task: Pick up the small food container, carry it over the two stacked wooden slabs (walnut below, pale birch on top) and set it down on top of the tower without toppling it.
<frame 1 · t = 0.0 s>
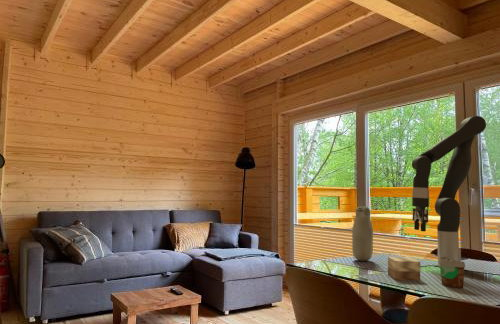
hand: (419, 230, 194), 17 cm above the table, tool pointing down, fingers open, 8 cm apart
food container: (448, 285, 153), on the table
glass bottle: (362, 261, 206), on the table
walnut slab: (403, 278, 166), on the table, touching birch slab
birch slab: (403, 269, 166), point 4 cm above the table, touching walnut slab
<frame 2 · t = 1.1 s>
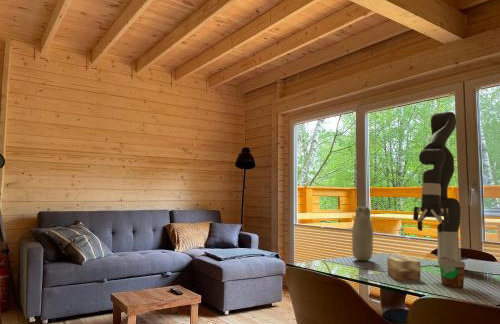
hand: (430, 231, 173), 19 cm above the table, tool pointing down, fingers open, 8 cm apart
walnut slab: (403, 278, 166), on the table
birch slab: (403, 268, 166), point 4 cm above the table
everything else where it was.
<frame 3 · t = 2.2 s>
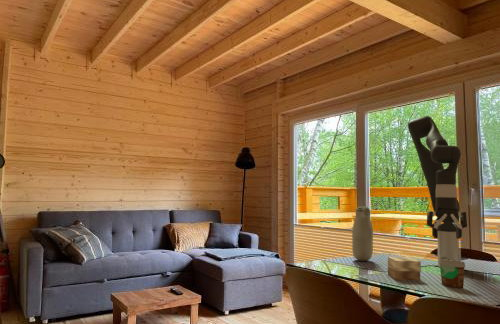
hand: (446, 238, 155), 18 cm above the table, tool pointing down, fingers open, 8 cm apart
walnut slab: (403, 278, 166), on the table, touching birch slab
birch slab: (403, 268, 166), point 4 cm above the table, touching walnut slab
everything else where it was.
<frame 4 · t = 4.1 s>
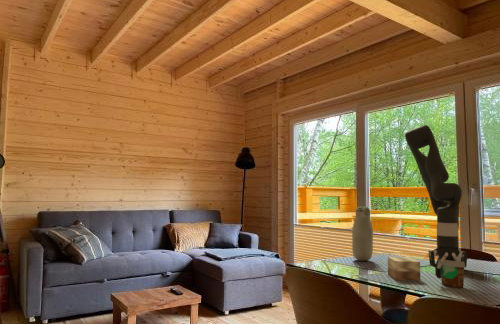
hand: (448, 278, 153), 3 cm above the table, tool pointing down, fingers open, 6 cm apart
food container: (448, 285, 153), on the table, touching gripper
everything else where it was.
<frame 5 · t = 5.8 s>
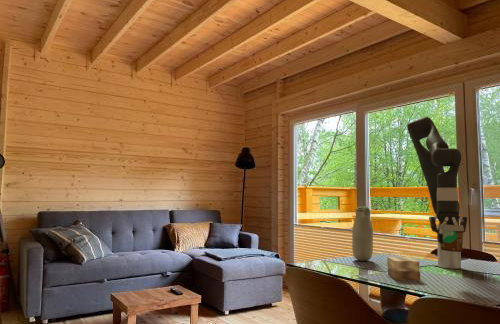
hand: (448, 243, 154), 16 cm above the table, tool pointing down, fingers closed on food container, 5 cm apart
food container: (447, 250, 154), point 13 cm above the table, touching gripper
everything else where it was.
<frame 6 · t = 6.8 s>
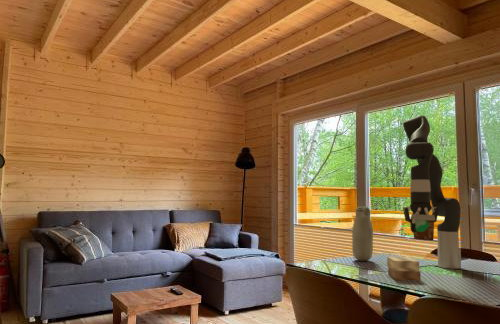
hand: (421, 232, 162), 19 cm above the table, tool pointing down, fingers closed on food container, 5 cm apart
food container: (419, 239, 162), point 16 cm above the table, touching gripper
walnut slab: (403, 278, 166), on the table
birch slab: (402, 268, 166), point 4 cm above the table
everything else where it was.
when the fingers open (12 cm above the table, at t = 9.6 s): food container drops 1 cm, resting on birch slab.
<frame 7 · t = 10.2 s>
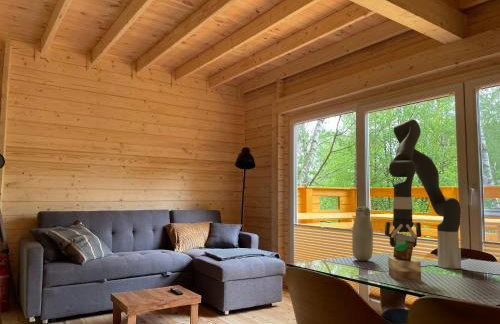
hand: (403, 246, 167), 13 cm above the table, tool pointing down, fingers open, 8 cm apart
food container: (398, 258, 166), point 8 cm above the table, touching birch slab, gripper
walnut slab: (404, 278, 166), on the table, touching birch slab
birch slab: (404, 269, 166), point 4 cm above the table, touching food container, walnut slab
everything else where it was.
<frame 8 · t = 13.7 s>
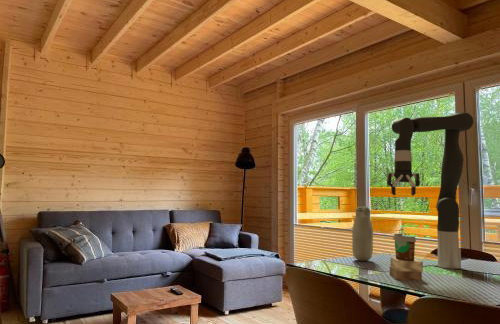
hand: (403, 195, 186), 34 cm above the table, tool pointing down, fingers open, 8 cm apart
food container: (401, 259, 166), point 7 cm above the table, touching birch slab
birch slab: (406, 269, 166), point 4 cm above the table, touching food container, walnut slab
everything else where it was.
at the end: food container inside the target area on the birch slab (2.0 cm from its centre), point 3.8 cm above the birch slab's base; food container tilted 1°; birch slab tilted 0° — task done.
